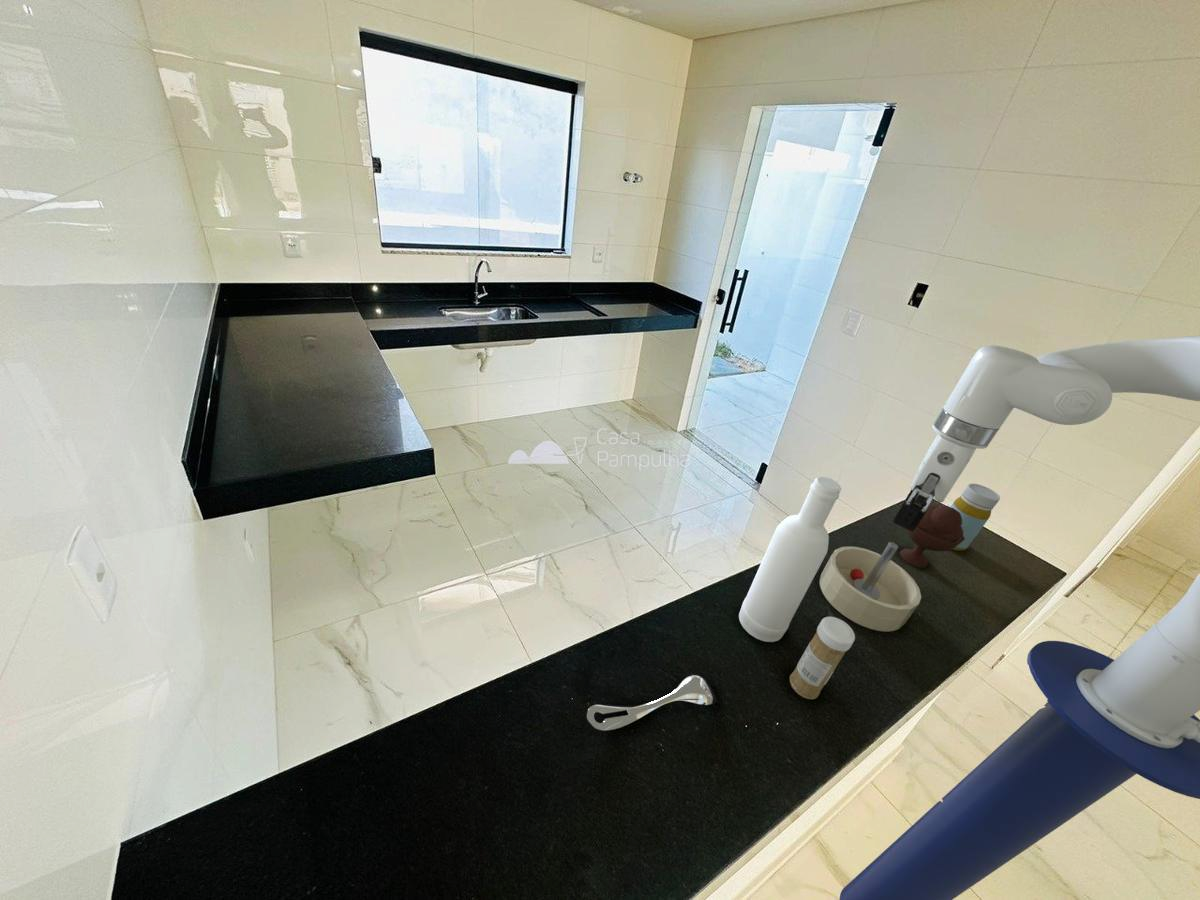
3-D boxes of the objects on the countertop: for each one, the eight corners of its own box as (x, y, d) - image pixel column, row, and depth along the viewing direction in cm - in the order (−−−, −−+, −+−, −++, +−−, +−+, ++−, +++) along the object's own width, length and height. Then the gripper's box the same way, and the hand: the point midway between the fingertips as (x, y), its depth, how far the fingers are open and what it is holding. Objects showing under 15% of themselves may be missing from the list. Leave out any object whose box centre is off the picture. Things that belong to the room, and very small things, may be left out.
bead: (862, 579, 93) (867, 571, 92) (858, 585, 91) (864, 576, 90) (850, 572, 94) (855, 564, 93) (846, 578, 93) (851, 569, 92)
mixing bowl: (912, 601, 91) (928, 579, 88) (894, 647, 80) (911, 624, 77) (833, 557, 99) (845, 535, 96) (807, 593, 88) (819, 571, 85)
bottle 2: (967, 543, 111) (1004, 493, 103) (963, 556, 106) (1001, 505, 98) (935, 528, 114) (968, 478, 107) (929, 540, 110) (963, 489, 102)
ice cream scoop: (595, 727, 57) (584, 692, 61) (589, 743, 59) (579, 707, 62) (727, 695, 65) (710, 665, 68) (719, 710, 66) (703, 680, 70)
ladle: (878, 596, 90) (910, 546, 83) (872, 609, 86) (905, 558, 80) (853, 582, 92) (882, 532, 86) (846, 594, 89) (876, 543, 82)
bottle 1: (756, 648, 76) (828, 503, 61) (729, 610, 82) (788, 470, 67) (793, 637, 79) (870, 496, 64) (764, 601, 85) (828, 465, 70)
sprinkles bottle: (825, 694, 70) (863, 637, 63) (803, 704, 68) (841, 646, 61) (802, 668, 74) (836, 611, 67) (781, 677, 72) (814, 619, 65)
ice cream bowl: (948, 566, 102) (987, 513, 95) (926, 583, 96) (966, 528, 88) (901, 536, 109) (933, 485, 102) (878, 550, 103) (910, 497, 96)
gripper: (987, 455, 63) (923, 549, 71) (997, 424, 74) (941, 507, 83) (926, 432, 66) (873, 523, 75) (945, 405, 78) (896, 487, 87)
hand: (909, 514), depth 79 cm, fingers open, 9 cm apart
